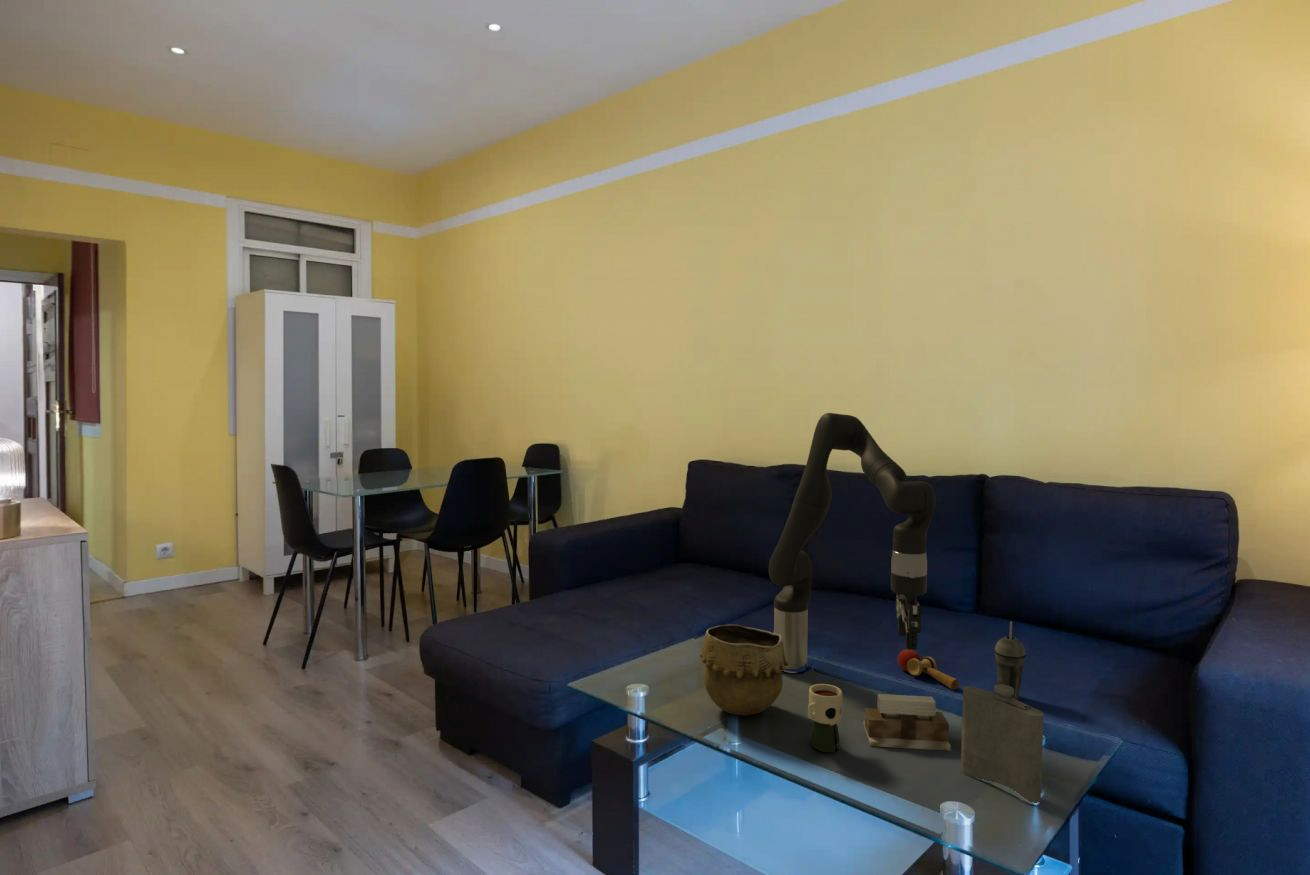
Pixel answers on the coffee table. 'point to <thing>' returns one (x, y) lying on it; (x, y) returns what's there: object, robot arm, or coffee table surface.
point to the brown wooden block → (906, 731)
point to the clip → (906, 706)
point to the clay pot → (743, 668)
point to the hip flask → (1002, 740)
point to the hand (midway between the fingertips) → (907, 642)
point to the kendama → (924, 667)
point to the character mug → (825, 716)
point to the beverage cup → (1010, 662)
